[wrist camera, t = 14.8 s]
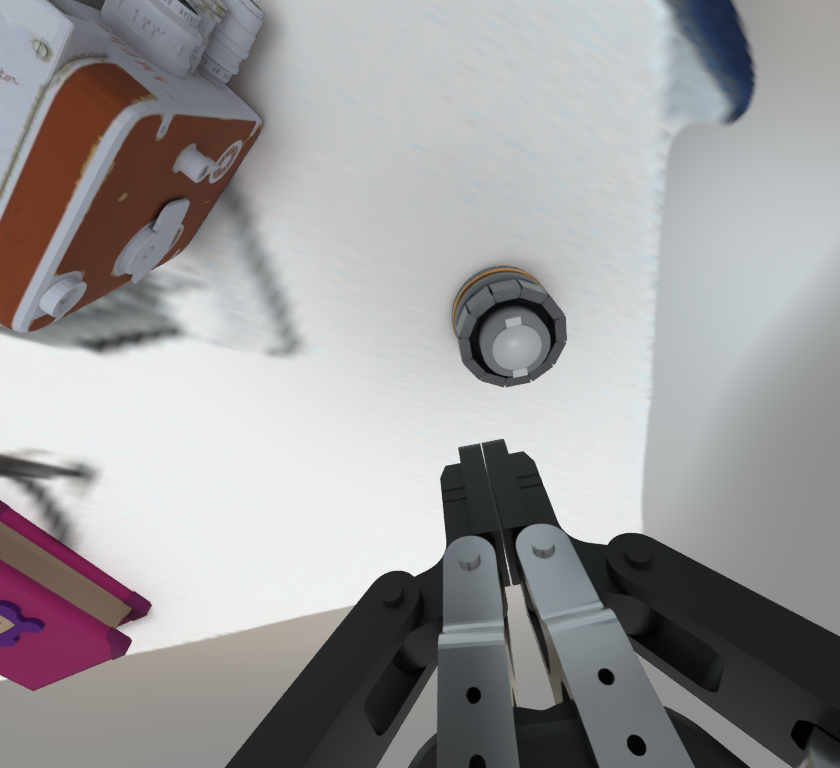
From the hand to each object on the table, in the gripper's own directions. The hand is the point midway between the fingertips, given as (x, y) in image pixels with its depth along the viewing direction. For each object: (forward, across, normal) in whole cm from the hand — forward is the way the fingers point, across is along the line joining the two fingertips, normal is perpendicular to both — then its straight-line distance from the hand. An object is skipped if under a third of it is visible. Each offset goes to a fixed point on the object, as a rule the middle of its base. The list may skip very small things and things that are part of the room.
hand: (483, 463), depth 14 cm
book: (+30, +64, +31) cm, 77 cm away
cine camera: (+29, +16, -13) cm, 36 cm away
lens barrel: (+29, -5, +7) cm, 30 cm away
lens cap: (+24, -5, +7) cm, 26 cm away
